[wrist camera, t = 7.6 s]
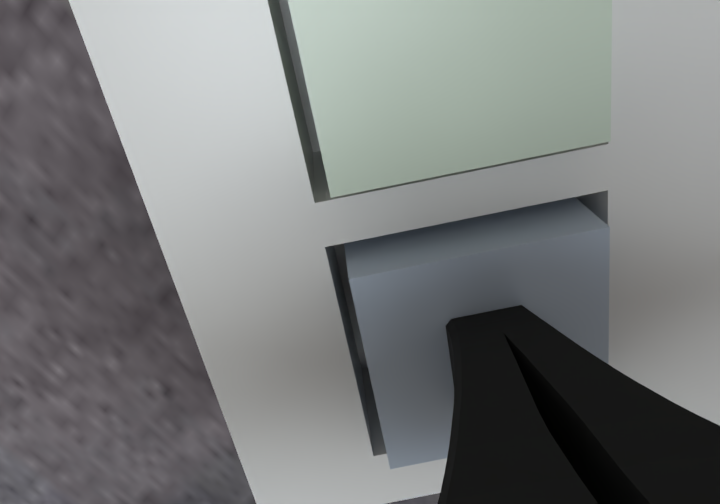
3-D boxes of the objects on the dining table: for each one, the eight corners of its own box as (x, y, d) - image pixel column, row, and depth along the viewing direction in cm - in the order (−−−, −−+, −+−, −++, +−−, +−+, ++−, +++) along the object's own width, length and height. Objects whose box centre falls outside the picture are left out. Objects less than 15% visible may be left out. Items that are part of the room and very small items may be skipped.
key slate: (541, 168, 12) (610, 227, 9) (549, 337, 14) (607, 425, 11) (339, 209, 12) (348, 279, 9) (374, 371, 14) (390, 469, 11)
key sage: (526, -159, 9) (614, -209, 7) (538, 100, 11) (610, 141, 9) (271, -107, 9) (258, -136, 7) (325, 143, 11) (330, 197, 9)
